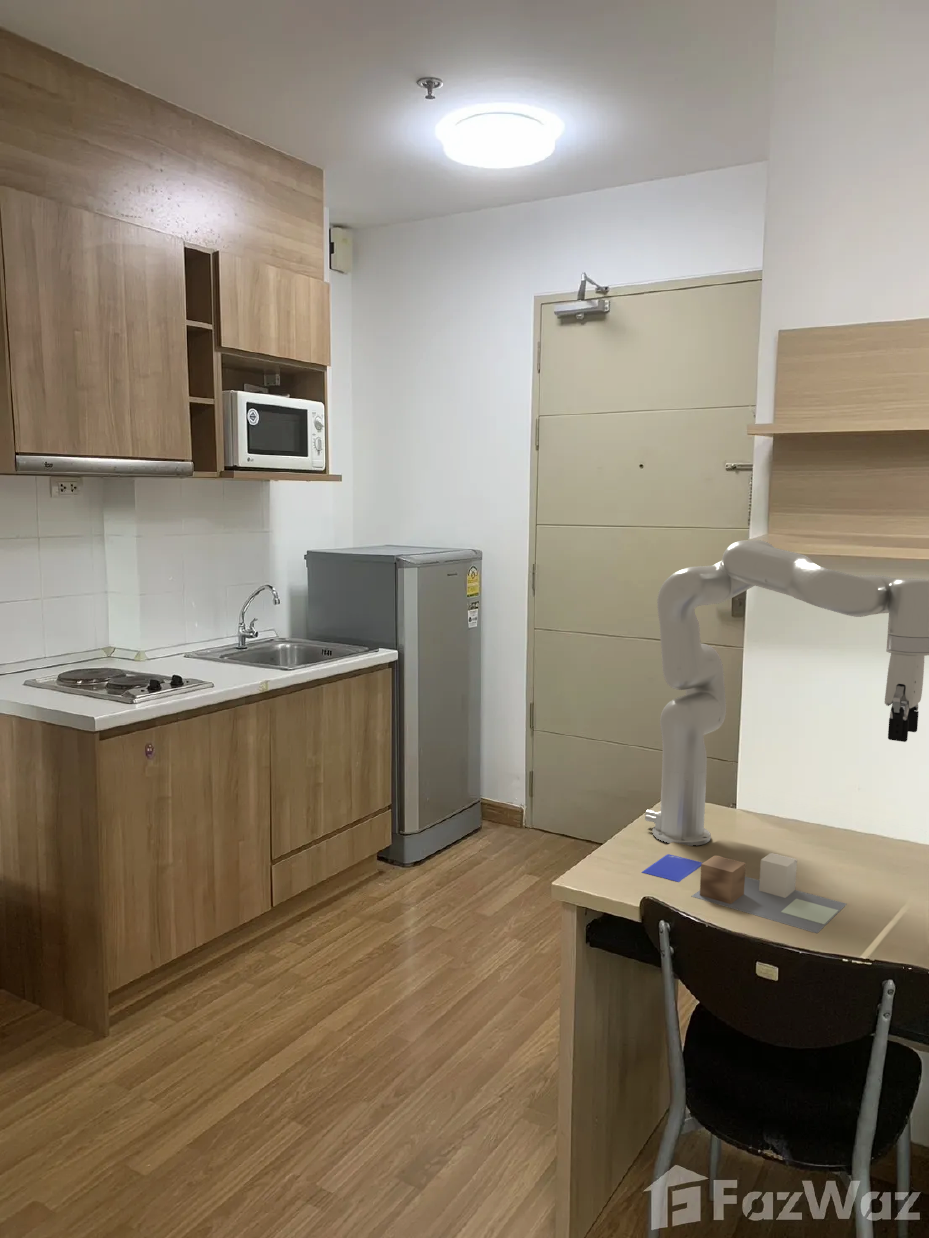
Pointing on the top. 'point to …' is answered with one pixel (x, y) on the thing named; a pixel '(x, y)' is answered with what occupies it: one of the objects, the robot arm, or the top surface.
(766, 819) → the top surface
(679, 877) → the blue square mat
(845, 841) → the top surface
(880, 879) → the top surface
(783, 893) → the cream block
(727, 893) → the walnut block
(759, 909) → the board
